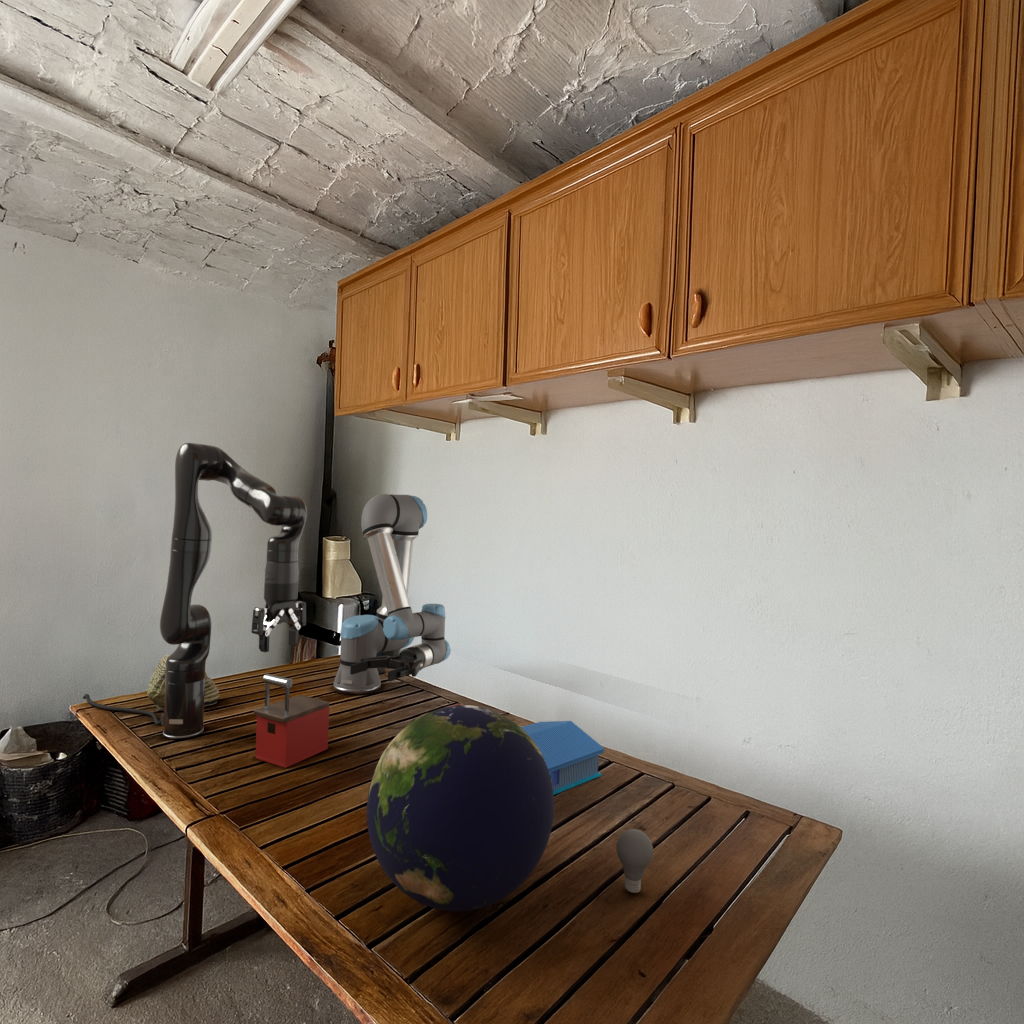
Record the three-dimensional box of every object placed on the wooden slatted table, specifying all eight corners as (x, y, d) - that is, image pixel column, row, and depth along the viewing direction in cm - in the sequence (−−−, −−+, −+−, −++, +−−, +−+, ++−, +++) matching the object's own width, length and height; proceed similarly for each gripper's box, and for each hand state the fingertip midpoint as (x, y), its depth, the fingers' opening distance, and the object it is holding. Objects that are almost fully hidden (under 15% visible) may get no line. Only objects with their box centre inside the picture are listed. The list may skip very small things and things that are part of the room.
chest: (285, 768, 147) (287, 722, 147) (255, 758, 151) (256, 713, 151) (327, 748, 159) (329, 706, 159) (298, 740, 164) (300, 699, 163)
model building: (483, 834, 121) (485, 782, 121) (412, 787, 139) (414, 742, 139) (612, 780, 148) (614, 737, 147) (538, 746, 166) (540, 708, 166)
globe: (322, 922, 94) (330, 722, 94) (423, 829, 122) (430, 674, 122) (507, 988, 83) (517, 762, 83) (572, 869, 111) (580, 699, 110)
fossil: (144, 707, 182) (145, 655, 182) (212, 696, 194) (213, 647, 194) (151, 716, 175) (153, 662, 175) (221, 703, 188) (223, 653, 188)
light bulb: (610, 879, 108) (613, 822, 108) (644, 879, 109) (647, 822, 109) (619, 902, 102) (622, 840, 102) (655, 901, 103) (658, 840, 103)
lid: (283, 723, 146) (285, 682, 146) (253, 714, 150) (255, 675, 150) (329, 706, 159) (330, 668, 158) (300, 698, 163) (301, 662, 163)
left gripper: (268, 584, 142) (265, 656, 142) (315, 578, 154) (313, 645, 154) (245, 581, 145) (242, 651, 145) (293, 576, 158) (290, 640, 158)
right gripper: (448, 675, 192) (405, 693, 173) (383, 665, 203) (336, 679, 185) (448, 651, 192) (405, 665, 173) (383, 641, 203) (336, 654, 185)
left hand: (279, 648), depth 150 cm, fingers open, 8 cm apart
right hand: (369, 673), depth 179 cm, fingers open, 13 cm apart
